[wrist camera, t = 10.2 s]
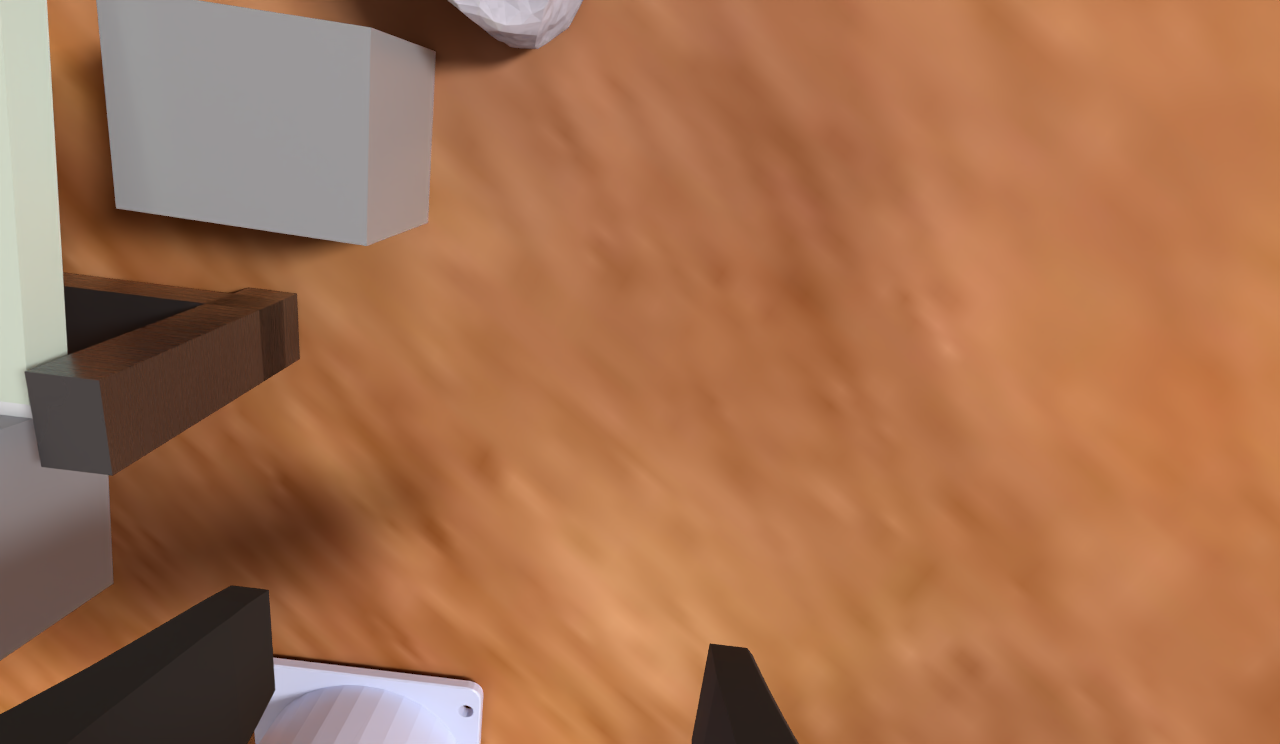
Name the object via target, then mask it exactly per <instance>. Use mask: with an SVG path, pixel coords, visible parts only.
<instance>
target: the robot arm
mask: <svg viewBox="0 0 1280 744" xmlns="http://www.w3.org/2000/svg"><path fill="white" fill-rule="evenodd" d="M463 705H467V706H470V707H471V708H466V707H464V706H463ZM482 709H483V689H482V688H481V687H480V685H478V684H477V683H475V682H472V681H466V680H458V679H449V678H441V677H433V676H424V675H416V674H407V673H399V672H391V671H382V670H374V669H365V668H357V667H349V666H340V665H332V664H323V663H315V662H306V661H298V660H290V659H281V658H273V647H272V632H271V617H270V603H269V590H264V589H256V588H248V587H240V586H230V587H228V588H226V589H224V590H222V591H220V592H218V593H216V594H215V595H213V596H211V597H209V598H207V599H206V600H204V601H202V602H200V603H199V604H197V605H195V606H193V607H192V608H190V609H188V610H187V611H185V612H183V613H181V614H180V615H178V616H176V617H175V618H173V619H171V620H170V621H168V622H166V623H164V624H163V625H161V626H159V627H158V628H156V629H154V630H152V631H151V632H149V633H147V634H146V635H144V636H142V637H140V638H139V639H137V640H135V641H133V642H132V643H130V644H128V645H126V646H125V647H123V648H121V649H120V650H118V651H116V652H114V653H113V654H111V655H109V656H107V657H106V658H104V659H102V660H100V661H99V662H97V663H95V664H93V665H92V666H90V667H88V668H86V669H84V670H83V671H81V672H79V673H77V674H75V675H73V676H71V677H69V678H68V679H66V680H64V681H62V682H60V683H58V684H56V685H55V686H53V687H51V688H49V689H47V690H45V691H43V692H41V693H40V694H38V695H36V696H34V697H32V698H30V699H28V700H27V701H25V702H23V703H21V704H19V705H17V706H15V707H13V708H12V709H10V710H8V711H6V712H4V713H2V714H0V744H247V743H248V742H249V740H250V738H251V736H252V734H253V732H254V734H255V744H481V726H482ZM692 744H799V743H798V742H797V740H796V738H795V736H794V735H793V733H792V731H791V729H790V728H789V726H788V724H787V722H786V721H785V719H784V717H783V715H782V713H781V711H780V709H779V708H778V706H777V704H776V702H775V700H774V698H773V696H772V694H771V692H770V690H769V688H768V686H767V684H766V682H765V680H764V678H763V676H762V674H761V672H760V670H759V668H758V666H757V664H756V662H755V660H754V657H753V655H752V654H751V653H750V651H749V650H748V649H747V648H742V647H734V646H725V645H717V644H710V645H709V650H708V656H707V661H706V667H705V672H704V677H703V683H702V688H701V693H700V699H699V704H698V709H697V715H696V720H695V725H694V731H693V736H692Z"/></svg>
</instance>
